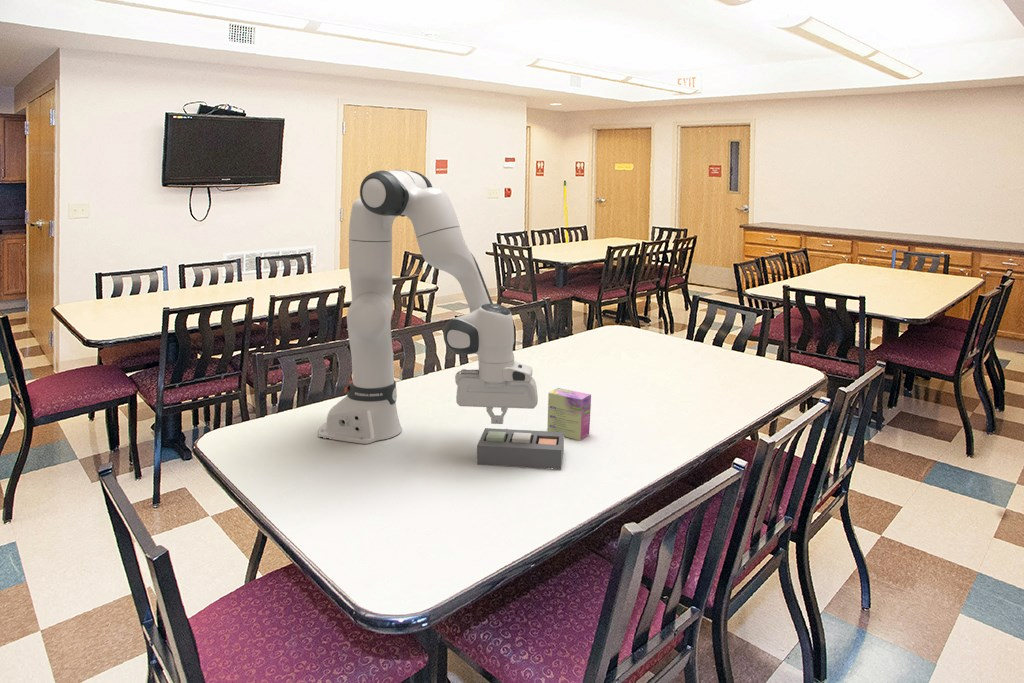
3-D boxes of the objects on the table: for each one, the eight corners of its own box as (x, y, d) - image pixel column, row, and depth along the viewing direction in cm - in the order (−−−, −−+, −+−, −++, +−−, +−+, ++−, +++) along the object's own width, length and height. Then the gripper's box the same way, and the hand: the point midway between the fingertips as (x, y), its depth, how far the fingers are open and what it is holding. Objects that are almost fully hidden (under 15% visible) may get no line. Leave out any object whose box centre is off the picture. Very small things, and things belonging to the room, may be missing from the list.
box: (590, 434, 190) (591, 393, 187) (580, 441, 185) (581, 399, 182) (556, 427, 195) (557, 387, 192) (546, 433, 191) (547, 392, 188)
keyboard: (477, 464, 170) (477, 445, 169) (485, 446, 181) (485, 428, 180) (560, 469, 167) (561, 450, 166) (563, 450, 179) (564, 432, 178)
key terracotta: (537, 451, 171) (537, 445, 171) (539, 445, 175) (539, 438, 175) (555, 452, 170) (555, 445, 170) (556, 446, 175) (556, 439, 174)
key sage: (486, 444, 172) (486, 437, 172) (488, 437, 176) (488, 431, 176) (503, 445, 172) (503, 438, 171) (505, 438, 176) (505, 432, 176)
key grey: (511, 445, 171) (511, 438, 171) (514, 439, 176) (514, 432, 175) (529, 446, 171) (529, 439, 170) (531, 440, 175) (531, 433, 175)
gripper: (452, 372, 168) (454, 426, 171) (536, 375, 165) (536, 429, 169) (457, 365, 174) (459, 417, 177) (538, 367, 171) (538, 420, 175)
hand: (497, 423), depth 173 cm, fingers closed
